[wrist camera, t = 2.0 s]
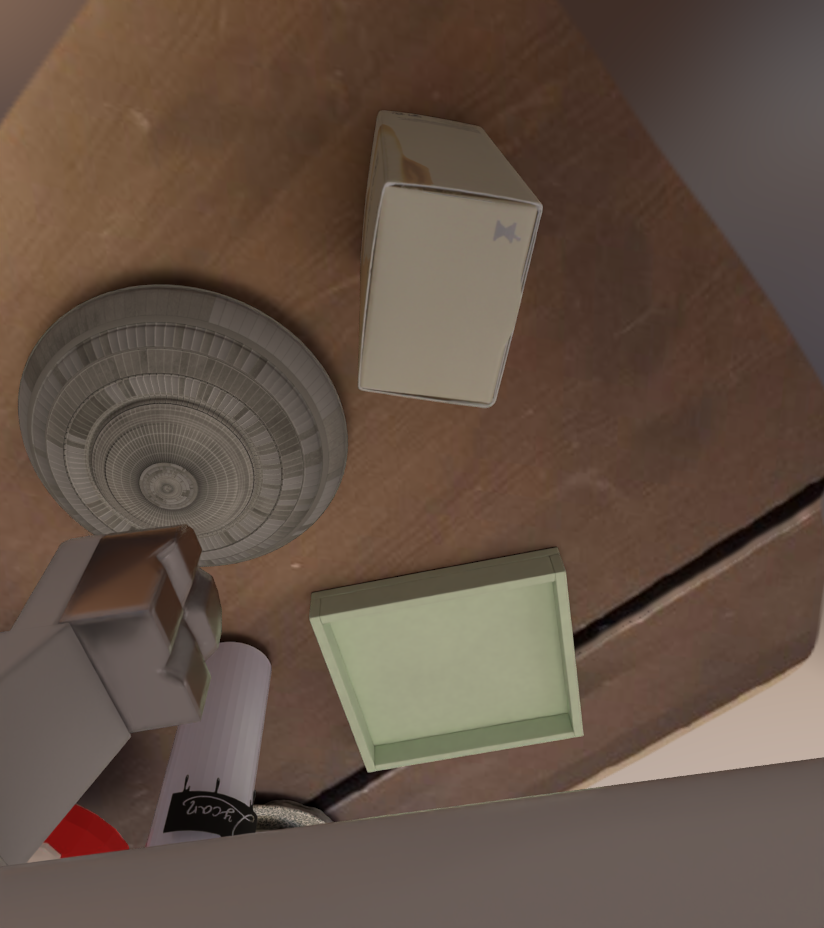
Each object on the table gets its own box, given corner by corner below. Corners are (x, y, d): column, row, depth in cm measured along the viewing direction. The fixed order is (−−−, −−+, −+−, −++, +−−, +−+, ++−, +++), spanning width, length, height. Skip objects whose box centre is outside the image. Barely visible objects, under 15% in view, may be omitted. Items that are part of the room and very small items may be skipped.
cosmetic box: (376, 106, 28) (380, 163, 18) (484, 124, 28) (551, 190, 18) (357, 268, 31) (352, 396, 21) (454, 282, 32) (496, 412, 22)
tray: (557, 546, 40) (565, 571, 38) (575, 709, 48) (583, 736, 46) (311, 592, 41) (308, 618, 39) (367, 745, 49) (367, 772, 47)
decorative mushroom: (109, 832, 52) (27, 1094, 40) (-89, 770, 48) (-254, 1045, 35) (199, 725, 47) (137, 991, 34) (-16, 643, 42) (-182, 917, 29)
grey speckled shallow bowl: (321, 891, 58) (317, 954, 54) (171, 871, 56) (156, 936, 52) (366, 807, 52) (366, 871, 49) (201, 780, 50) (187, 845, 46)
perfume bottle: (260, 701, 46) (197, 1105, 29) (172, 674, 44) (51, 1086, 27) (298, 644, 43) (254, 1050, 26) (207, 612, 42) (96, 1024, 25)
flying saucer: (216, 589, 41) (196, 664, 36) (-33, 422, 34) (-95, 487, 30) (411, 428, 36) (417, 490, 31) (163, 198, 29) (125, 233, 25)
